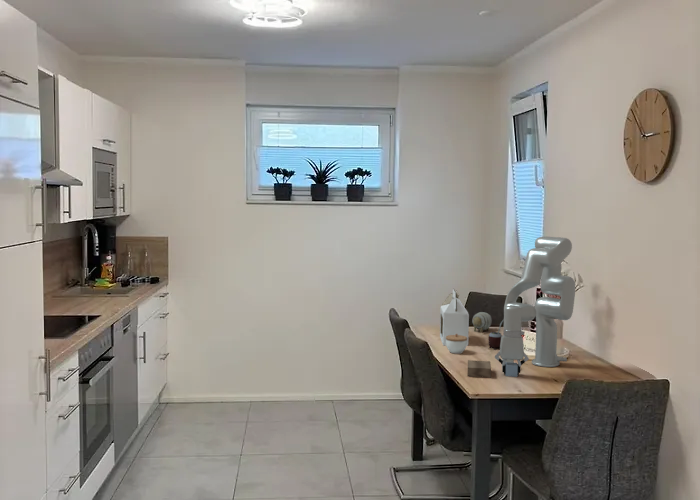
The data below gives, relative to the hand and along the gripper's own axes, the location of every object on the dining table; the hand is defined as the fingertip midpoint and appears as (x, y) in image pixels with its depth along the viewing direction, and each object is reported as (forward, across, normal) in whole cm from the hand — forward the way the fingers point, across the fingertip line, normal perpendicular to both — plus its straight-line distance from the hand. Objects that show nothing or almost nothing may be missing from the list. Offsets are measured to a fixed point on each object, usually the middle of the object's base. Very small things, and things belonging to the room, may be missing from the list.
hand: (511, 373), depth 290 cm
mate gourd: (+1, +5, -51) cm, 51 cm away
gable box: (+1, +27, -63) cm, 69 cm away
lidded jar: (+1, +25, -38) cm, 45 cm away
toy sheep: (+1, +11, -94) cm, 95 cm away
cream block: (+1, +1, -11) cm, 11 cm away
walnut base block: (+1, +14, 0) cm, 14 cm away
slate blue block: (+1, 0, 0) cm, 1 cm away
